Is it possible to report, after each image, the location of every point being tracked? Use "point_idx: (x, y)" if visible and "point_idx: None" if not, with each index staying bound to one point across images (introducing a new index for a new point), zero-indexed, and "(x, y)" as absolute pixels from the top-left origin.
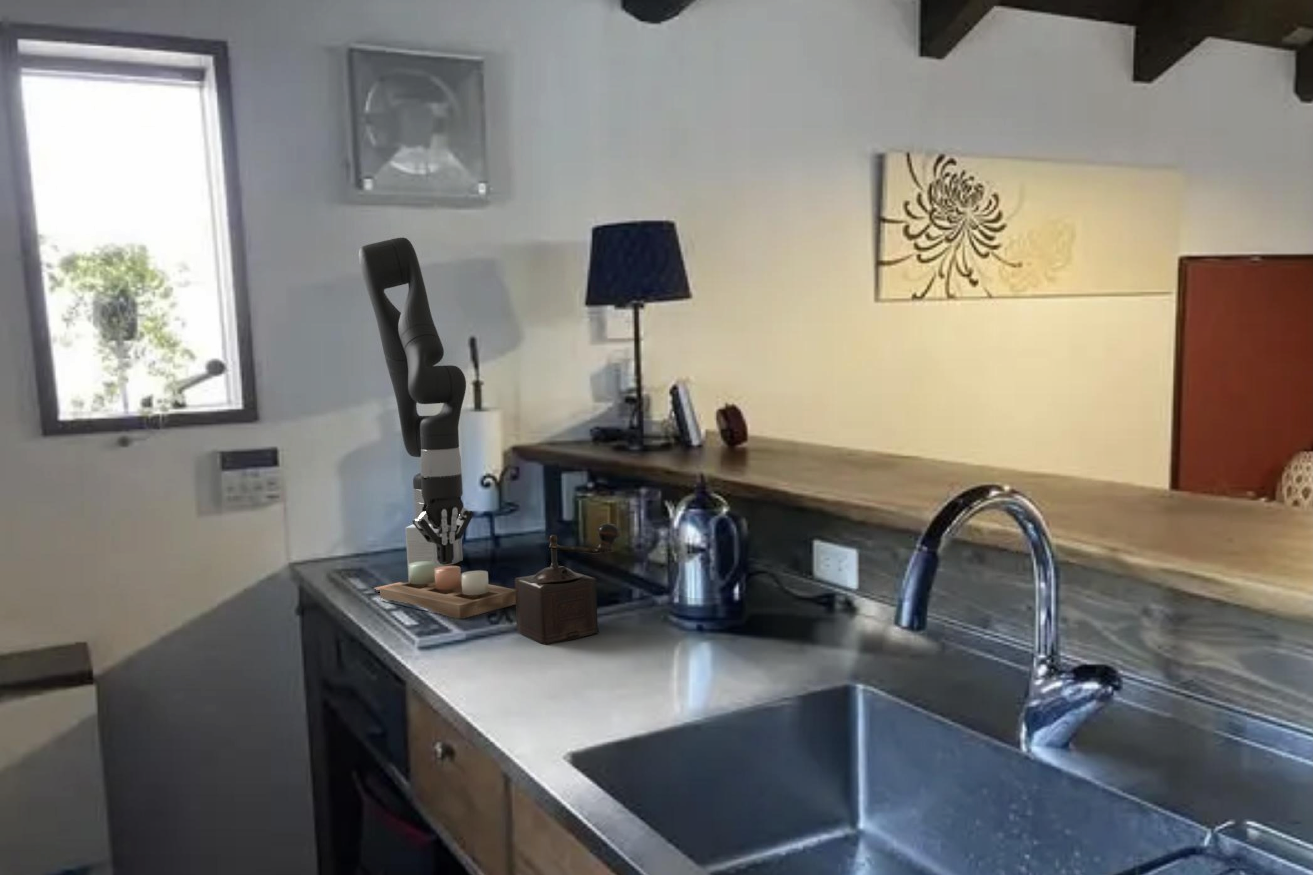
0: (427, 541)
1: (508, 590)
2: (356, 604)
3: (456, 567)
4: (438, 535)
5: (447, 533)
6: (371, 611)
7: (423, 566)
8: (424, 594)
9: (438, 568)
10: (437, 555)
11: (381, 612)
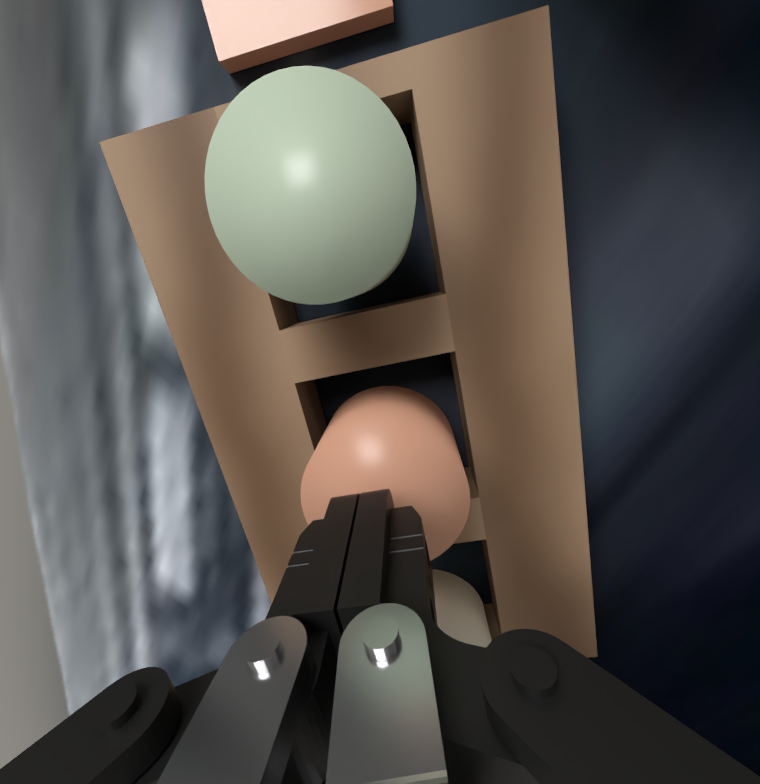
0: (114, 686)
1: (564, 635)
2: (36, 139)
3: (441, 517)
4: (250, 765)
5: (431, 757)
6: (82, 331)
7: (288, 300)
8: (259, 456)
9: (338, 461)
10: (294, 560)
11: (115, 376)
